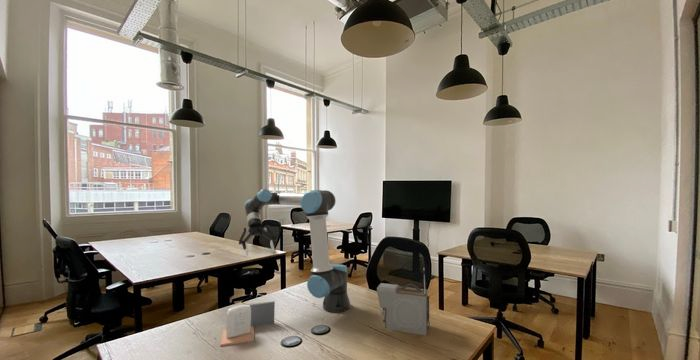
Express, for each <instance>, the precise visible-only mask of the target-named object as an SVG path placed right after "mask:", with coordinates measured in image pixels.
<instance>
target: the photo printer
mask: <svg viewBox="0 0 700 360" xmlns="http://www.w3.org/2000/svg"><path fill="white" fill-rule="evenodd" d="M225 330H226V337H227V338H231V337H235V336H239V335H243V334H247V333H250V331H251V307H250V305H246V304H238V305H235V306H232V307H230V308H228V309H227V312H226V329H225Z"/></svg>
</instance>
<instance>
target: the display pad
mask: <svg viewBox="0 0 700 360" xmlns="http://www.w3.org/2000/svg"><path fill="white" fill-rule="evenodd" d="M254 328H255V326H251V331H250V333H247V334H243V335H239V336H235V337H231V338H227V337H226V329H223V331H222V335H221V339H220V340H221V341H220V343H219V344H220V345H219V346H220V347H224V346H231V345H238V344H245V343H249V342H250V343H251V342H254V341H255V340H254V339H255V338H254V337H255V336H254V335H255V333H254V332H255V331H254V330H255V329H254Z"/></svg>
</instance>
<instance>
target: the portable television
mask: <svg viewBox="0 0 700 360" xmlns="http://www.w3.org/2000/svg"><path fill="white" fill-rule="evenodd" d="M423 270H425V267H423ZM376 293H377V299H378V303H379V307H380V309H381V310H380V315H381V316H383V317H384V319H383V320H382V322H383V323H384V328H385V329H387V330H389V329H390V330H391V331H397V332H401V331H403V332H404V333H407V332H408V333H407V334H409V333H410V334H414V335H420V336H421V335H422V336H427V332H428V328H429V327H430V326H429V325H430V324H431V320H430V297H431V296H430V295H429V293H428V289H427V288H426V278H425V275H423V288H420V287H418V286H416V284H414V283H409V284H406V285H404V286H401V285H399V284H395V283H384V282H380V284H378V286H377V287H376ZM429 329H430V328H429Z"/></svg>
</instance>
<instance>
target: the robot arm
mask: <svg viewBox="0 0 700 360" xmlns="http://www.w3.org/2000/svg"><path fill="white" fill-rule="evenodd" d="M336 202H337V201H336V196H335V194H334V193H333V192H331V191H330V190H325V189H324V190H319V189H313V190H308V191H306V192H305V193H304V192H303V193H301V192H271V191H270V189H267V188H261V190H259V191H258V192H257V193H256V195H255V196H254V197H253V198H250V199H248V200H246V201H245V203H244V210H245V214H246V220H247V226H248V228H247V227H244V228H243V230H242V234H241V236H240V237H239V240H238V245H241V246H242V249H243V250H245V255H246V256H248V255H249V247H248V241H249V240H250V239H251V238H252V236H254V237H256V236H261V237H263V238H265V239H266V240H267V241H269V244H270V249H271V253H272V254H273V253H274V252H275V246H276V243H275V242H276V241H277V239H278V238H277V236H276V235H275V234H274V232H272V230H271V229H270V228H269V226H266V227H263V222H262V218H261V214H260V211H261V210H262V209H263V207H265V206H270V205H275V206H276V205H280V206H283V205H284V206H296V207H297V206H298V207H299V206H300V207H301V208H300V209H301V210H303V212H304V213H305V217H306V218H307V219H308V220H309V229H310V230H309V232H310V241H311V242H310V243H311V254H312V268H311V269H310V276H309V278H308V280H307V283H306V286H307V290H308V291H309V293H310V294H311V295H312V297H314V298H317V299H322V298H323V302H322V309H323V310H325V311H326V312H329V313H342V312H346V311H348V310H349V309H350V308H351V302H350V299H349V295H348V267H347V266H346V265H344V264H339V263H330V250H329V241H328V240H329V239H328V230H327V217H328V216H329V211H330V210H332V209H333V208H334V207H335V205H336ZM247 233H249V234H248V235H247V236H246V237H245V235H246V234H247Z"/></svg>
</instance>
